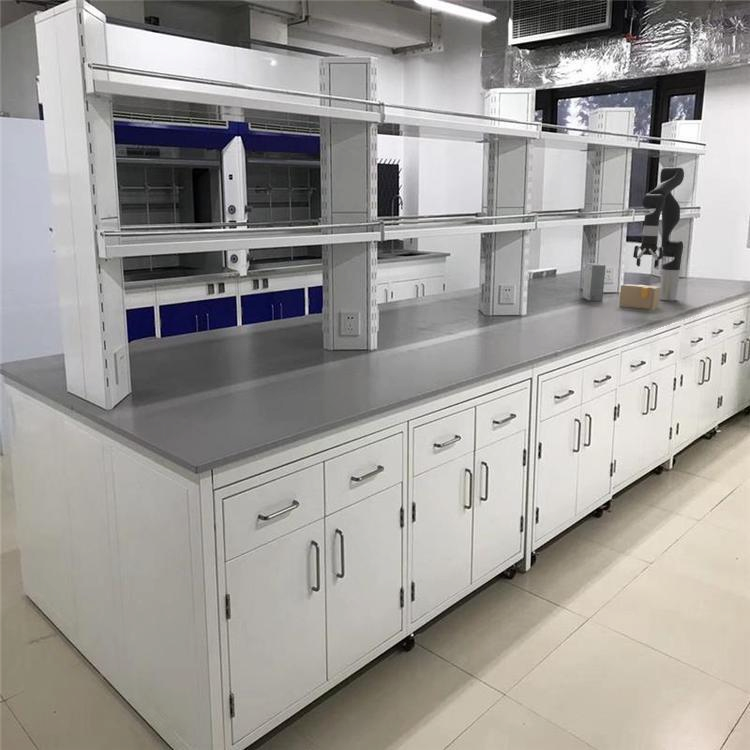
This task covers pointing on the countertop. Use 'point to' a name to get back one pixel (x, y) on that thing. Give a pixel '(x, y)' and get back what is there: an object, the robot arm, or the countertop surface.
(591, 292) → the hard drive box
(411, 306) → the countertop surface
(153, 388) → the countertop surface
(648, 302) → the flap
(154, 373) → the countertop surface
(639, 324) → the countertop surface
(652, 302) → the carton
